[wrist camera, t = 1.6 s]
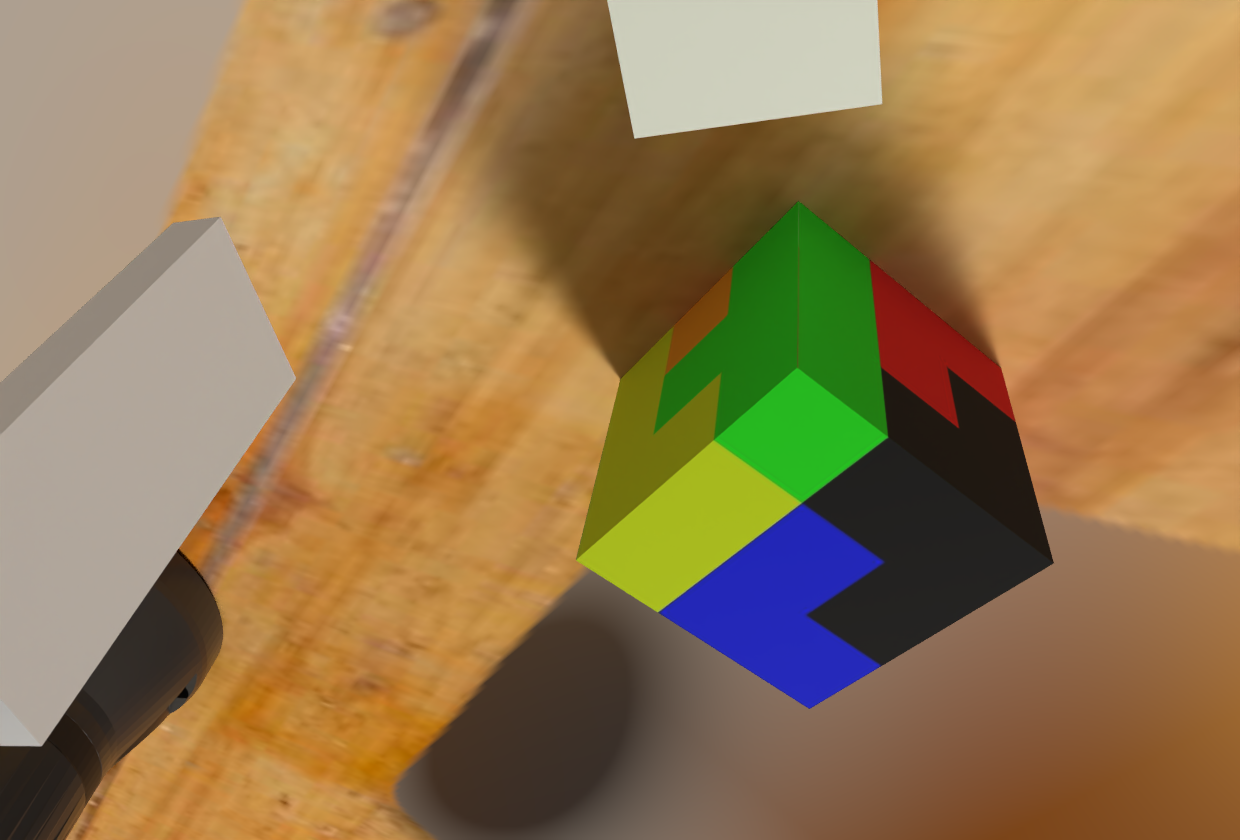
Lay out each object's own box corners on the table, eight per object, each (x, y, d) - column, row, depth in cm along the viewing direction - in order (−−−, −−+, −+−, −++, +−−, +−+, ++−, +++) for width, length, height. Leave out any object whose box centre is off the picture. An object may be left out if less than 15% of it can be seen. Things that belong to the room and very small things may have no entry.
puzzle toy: (808, 511, 43) (809, 708, 35) (620, 378, 40) (575, 560, 32) (1000, 367, 37) (1053, 563, 29) (798, 200, 34) (797, 367, 26)
